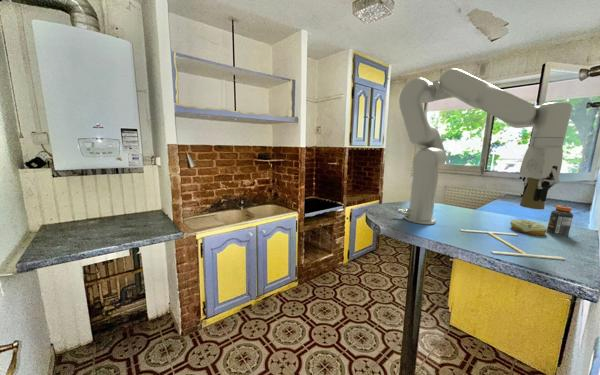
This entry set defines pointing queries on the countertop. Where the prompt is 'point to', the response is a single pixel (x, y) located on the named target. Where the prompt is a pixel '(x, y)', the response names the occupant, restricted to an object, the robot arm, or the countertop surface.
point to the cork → (532, 195)
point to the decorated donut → (528, 227)
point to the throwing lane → (512, 246)
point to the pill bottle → (560, 221)
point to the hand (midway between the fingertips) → (533, 198)
